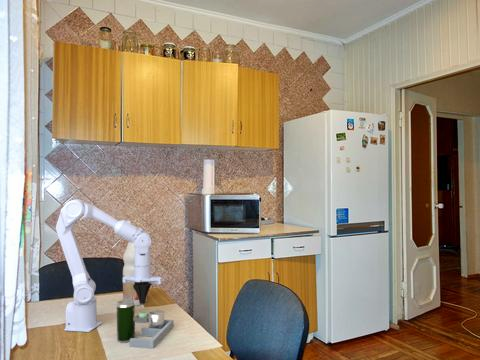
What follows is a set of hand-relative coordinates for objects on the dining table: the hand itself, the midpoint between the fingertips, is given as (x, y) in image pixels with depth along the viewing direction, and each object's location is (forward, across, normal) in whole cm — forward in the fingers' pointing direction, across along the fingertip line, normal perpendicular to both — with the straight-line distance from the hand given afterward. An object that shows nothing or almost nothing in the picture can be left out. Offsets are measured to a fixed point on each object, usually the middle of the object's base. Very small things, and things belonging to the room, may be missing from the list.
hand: (142, 303), depth 132 cm
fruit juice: (+6, -12, +18) cm, 23 cm away
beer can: (+6, +2, -16) cm, 18 cm away
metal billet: (+6, +9, -8) cm, 14 cm away
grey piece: (+6, +9, -12) cm, 17 cm away
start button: (+6, 0, 0) cm, 7 cm away
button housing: (+6, 0, 0) cm, 6 cm away
